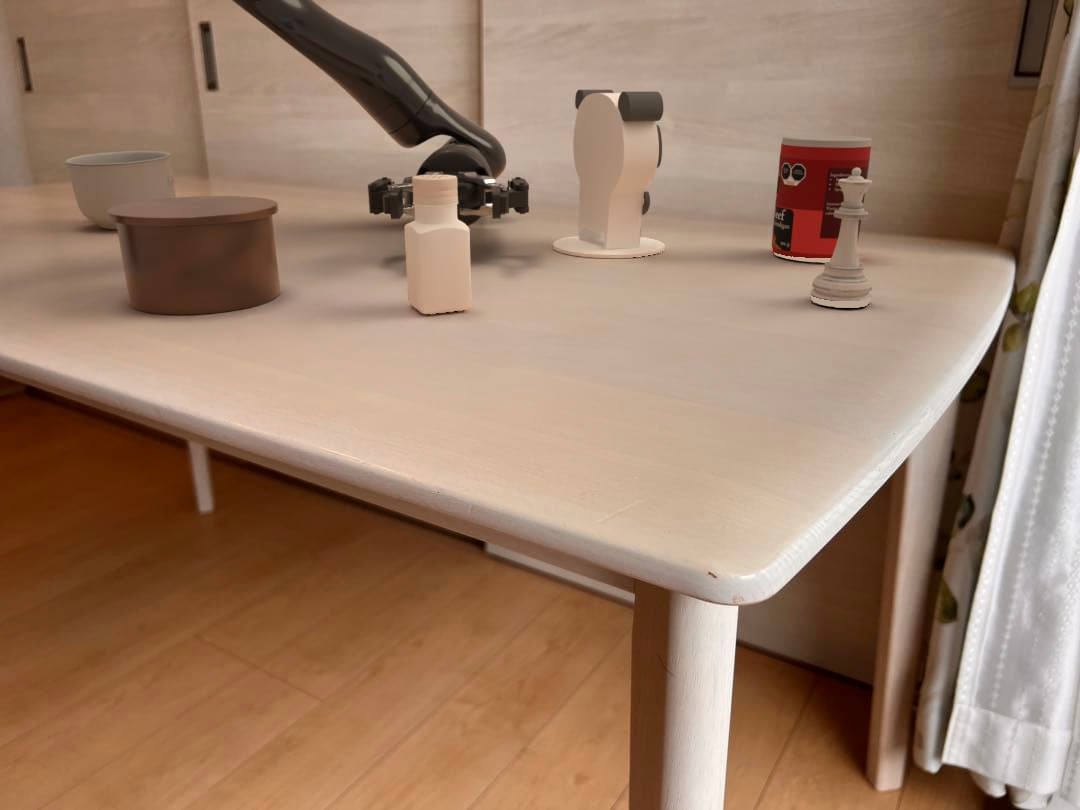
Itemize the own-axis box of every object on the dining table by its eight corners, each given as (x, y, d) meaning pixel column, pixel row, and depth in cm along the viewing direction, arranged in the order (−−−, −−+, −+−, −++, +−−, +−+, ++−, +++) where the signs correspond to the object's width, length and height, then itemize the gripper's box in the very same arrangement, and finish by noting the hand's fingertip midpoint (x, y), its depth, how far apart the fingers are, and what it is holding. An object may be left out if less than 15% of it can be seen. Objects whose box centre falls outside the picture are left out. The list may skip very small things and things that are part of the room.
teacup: (196, 225, 100) (186, 154, 97) (99, 237, 92) (86, 159, 89) (145, 213, 109) (135, 147, 106) (53, 223, 101) (39, 152, 98)
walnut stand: (167, 326, 59) (151, 223, 56) (96, 297, 67) (79, 206, 64) (316, 296, 67) (308, 205, 65) (238, 274, 75) (228, 192, 72)
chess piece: (799, 303, 65) (815, 167, 62) (824, 293, 68) (840, 163, 65) (856, 312, 63) (875, 171, 59) (878, 302, 66) (898, 167, 62)
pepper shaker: (406, 305, 65) (399, 175, 61) (456, 299, 66) (452, 172, 63) (421, 317, 61) (415, 180, 58) (474, 311, 63) (471, 178, 59)
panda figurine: (690, 254, 84) (700, 90, 78) (585, 263, 80) (588, 91, 74) (631, 235, 94) (637, 89, 89) (535, 241, 90) (535, 89, 85)
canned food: (776, 246, 88) (787, 134, 84) (858, 252, 85) (874, 136, 81) (764, 260, 81) (776, 138, 77) (853, 266, 78) (870, 141, 74)
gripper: (382, 145, 85) (356, 159, 70) (525, 145, 86) (530, 159, 71) (387, 222, 88) (363, 251, 73) (525, 221, 88) (530, 250, 73)
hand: (445, 206), depth 72 cm, fingers open, 8 cm apart
